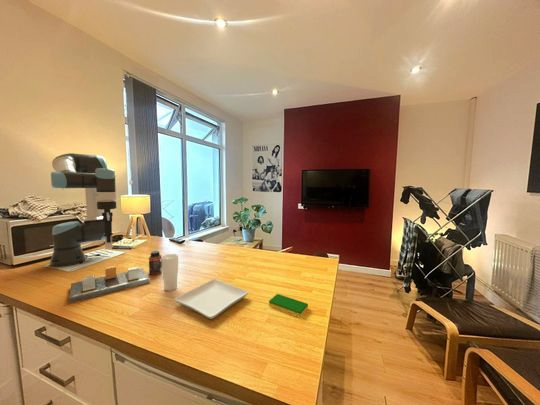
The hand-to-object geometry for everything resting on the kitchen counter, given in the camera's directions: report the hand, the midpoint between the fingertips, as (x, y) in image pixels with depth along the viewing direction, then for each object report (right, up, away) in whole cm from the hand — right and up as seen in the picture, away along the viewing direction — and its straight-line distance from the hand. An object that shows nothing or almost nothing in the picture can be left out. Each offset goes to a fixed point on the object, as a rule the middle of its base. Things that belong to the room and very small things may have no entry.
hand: (108, 248), depth 105 cm
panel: (+6, -16, -6) cm, 18 cm away
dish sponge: (+86, -19, -21) cm, 91 cm away
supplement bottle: (+19, -15, +8) cm, 25 cm away
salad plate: (+56, -18, -18) cm, 62 cm away
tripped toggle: (+4, -13, -3) cm, 14 cm away
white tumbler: (+34, -17, -8) cm, 39 cm away
